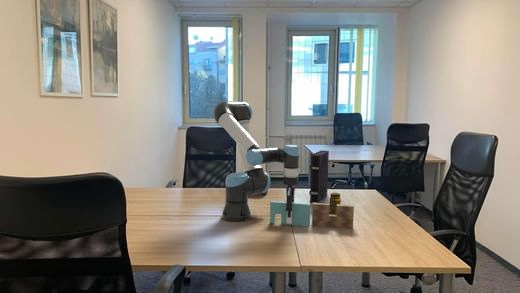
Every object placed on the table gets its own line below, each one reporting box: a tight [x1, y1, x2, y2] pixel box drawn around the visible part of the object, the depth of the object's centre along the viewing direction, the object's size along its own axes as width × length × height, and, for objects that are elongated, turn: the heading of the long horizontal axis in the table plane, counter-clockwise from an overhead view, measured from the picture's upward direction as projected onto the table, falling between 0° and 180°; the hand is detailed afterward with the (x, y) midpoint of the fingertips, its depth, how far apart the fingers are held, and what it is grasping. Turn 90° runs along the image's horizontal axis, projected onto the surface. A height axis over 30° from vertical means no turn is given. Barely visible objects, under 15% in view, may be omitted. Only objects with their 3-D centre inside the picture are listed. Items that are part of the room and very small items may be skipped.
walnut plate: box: [311, 202, 355, 229], centre depth 190 cm, size 20×2×11 cm, turn 78°
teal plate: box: [269, 200, 311, 227], centre depth 192 cm, size 20×2×11 cm, turn 78°
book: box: [308, 149, 330, 203], centre depth 244 cm, size 24×6×30 cm, turn 157°
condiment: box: [328, 192, 342, 215], centre depth 209 cm, size 7×8×12 cm
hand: (289, 221), depth 192 cm, fingers open, 4 cm apart
